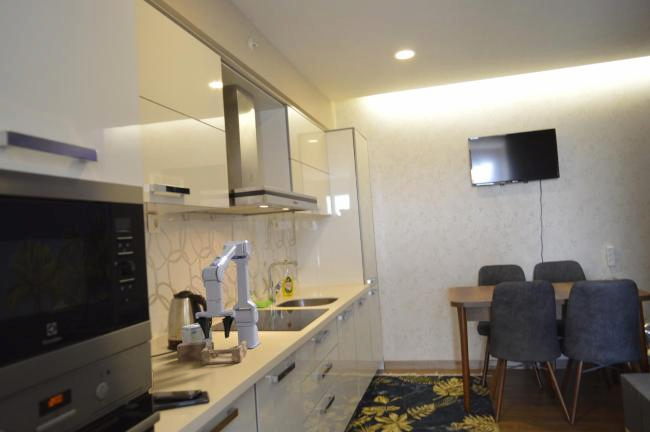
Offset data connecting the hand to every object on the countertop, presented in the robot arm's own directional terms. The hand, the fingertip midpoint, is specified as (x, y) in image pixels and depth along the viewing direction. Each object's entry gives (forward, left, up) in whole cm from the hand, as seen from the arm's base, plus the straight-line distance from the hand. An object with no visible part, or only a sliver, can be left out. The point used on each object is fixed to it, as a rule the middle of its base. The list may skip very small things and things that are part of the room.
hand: (217, 337), depth 169 cm
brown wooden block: (-10, -16, -10) cm, 21 cm away
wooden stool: (-10, -2, -10) cm, 14 cm away
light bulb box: (-24, -20, -10) cm, 33 cm away
